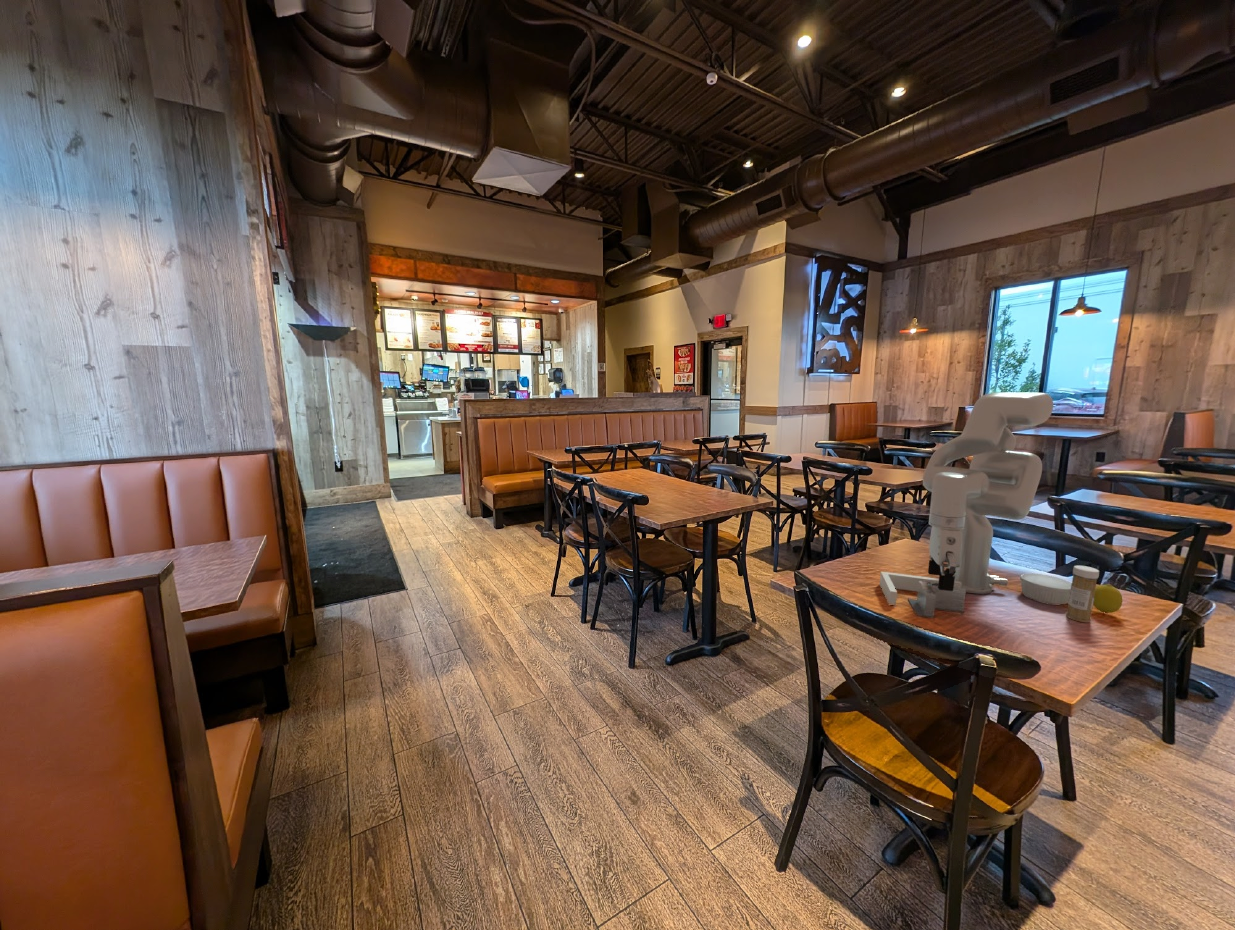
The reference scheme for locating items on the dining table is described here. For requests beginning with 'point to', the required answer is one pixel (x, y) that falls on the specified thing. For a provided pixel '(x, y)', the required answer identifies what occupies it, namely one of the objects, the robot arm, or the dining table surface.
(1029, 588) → the ramekin
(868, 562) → the dining table surface
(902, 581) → the light grey l-shaped block
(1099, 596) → the lemon
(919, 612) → the pose mat
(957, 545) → the robot arm
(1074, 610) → the sprinkles bottle
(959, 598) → the angle bracket
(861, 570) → the dining table surface
